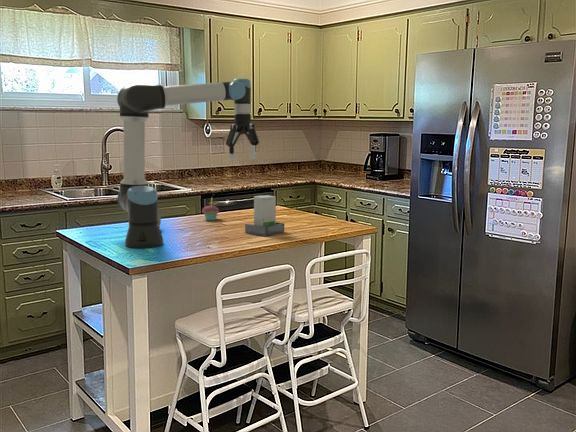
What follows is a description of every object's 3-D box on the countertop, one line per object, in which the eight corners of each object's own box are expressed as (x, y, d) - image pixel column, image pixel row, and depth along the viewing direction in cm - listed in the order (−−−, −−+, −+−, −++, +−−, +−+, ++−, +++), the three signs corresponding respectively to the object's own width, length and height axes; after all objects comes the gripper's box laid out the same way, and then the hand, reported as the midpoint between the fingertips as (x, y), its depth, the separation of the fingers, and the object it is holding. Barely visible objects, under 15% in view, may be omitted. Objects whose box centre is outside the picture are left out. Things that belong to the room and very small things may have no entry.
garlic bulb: (154, 231, 259) (153, 210, 257) (138, 230, 261) (137, 208, 259) (165, 227, 267) (164, 206, 266) (149, 226, 270) (148, 205, 268)
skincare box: (261, 232, 253) (261, 197, 250) (252, 230, 258) (252, 196, 255) (276, 230, 258) (276, 196, 255) (267, 227, 263) (267, 194, 260)
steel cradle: (266, 236, 250) (266, 227, 249) (245, 232, 257) (245, 224, 256) (284, 231, 259) (284, 223, 259) (263, 228, 267) (263, 220, 266)
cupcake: (222, 220, 287) (221, 196, 285) (206, 221, 283) (206, 197, 280) (214, 217, 294) (213, 194, 292) (199, 219, 290) (198, 195, 287)
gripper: (254, 113, 272) (254, 157, 276) (217, 113, 253) (218, 161, 257) (266, 113, 268) (266, 158, 272) (229, 113, 248) (230, 162, 252)
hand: (243, 160), depth 264 cm, fingers open, 13 cm apart
